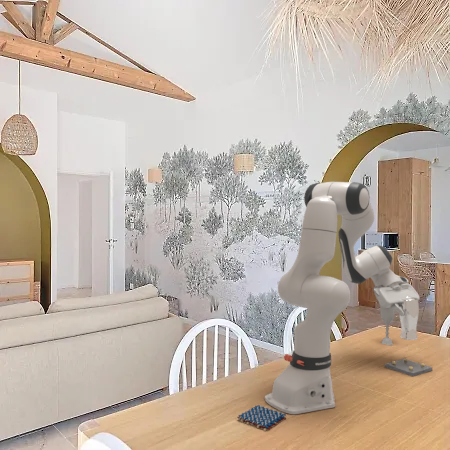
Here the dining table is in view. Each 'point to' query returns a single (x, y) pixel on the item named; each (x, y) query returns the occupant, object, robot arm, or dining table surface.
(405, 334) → the beer glass
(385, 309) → the chalice
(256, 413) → the woven mat
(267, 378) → the dining table surface
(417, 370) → the coaster
